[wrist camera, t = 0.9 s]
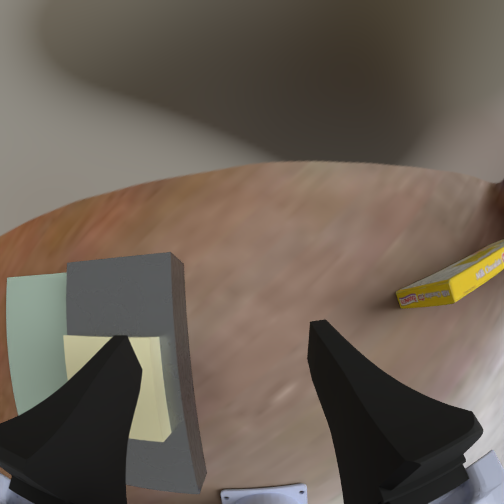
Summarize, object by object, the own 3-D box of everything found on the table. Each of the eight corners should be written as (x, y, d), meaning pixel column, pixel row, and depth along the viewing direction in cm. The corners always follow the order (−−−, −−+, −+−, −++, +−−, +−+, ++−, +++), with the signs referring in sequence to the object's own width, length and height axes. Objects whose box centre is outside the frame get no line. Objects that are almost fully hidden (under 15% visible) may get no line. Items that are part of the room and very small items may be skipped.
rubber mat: (104, 459, 19) (102, 461, 18) (25, 433, 19) (23, 434, 18) (82, 272, 24) (80, 271, 23) (10, 278, 24) (7, 277, 23)
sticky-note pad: (171, 432, 17) (163, 442, 15) (89, 421, 16) (76, 427, 15) (159, 336, 19) (149, 337, 17) (77, 335, 18) (63, 335, 16)
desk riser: (206, 472, 19) (199, 494, 15) (112, 461, 19) (94, 476, 15) (183, 263, 24) (170, 252, 20) (90, 271, 24) (67, 262, 20)
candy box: (400, 312, 23) (454, 304, 15) (393, 291, 23) (446, 275, 15) (492, 261, 24) (538, 242, 16) (487, 244, 24) (532, 222, 16)
